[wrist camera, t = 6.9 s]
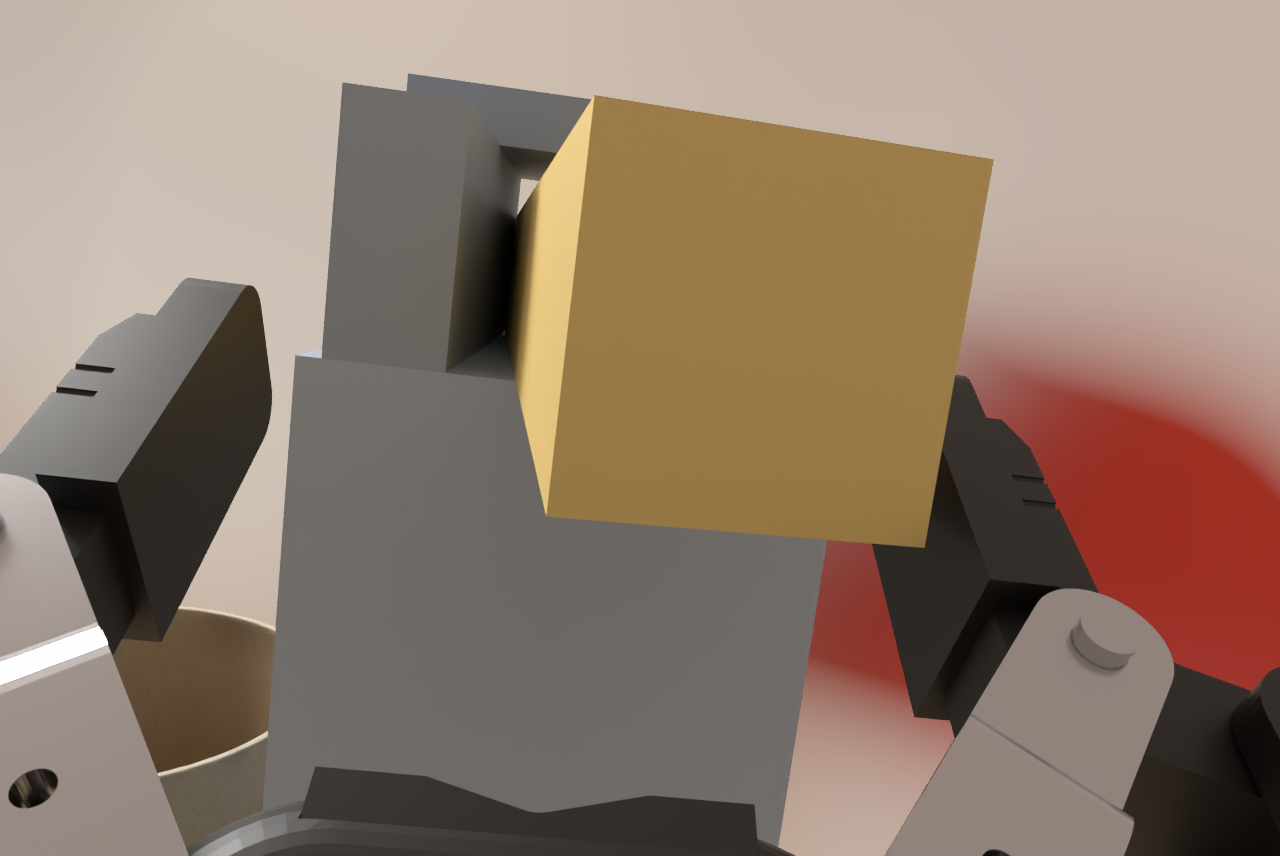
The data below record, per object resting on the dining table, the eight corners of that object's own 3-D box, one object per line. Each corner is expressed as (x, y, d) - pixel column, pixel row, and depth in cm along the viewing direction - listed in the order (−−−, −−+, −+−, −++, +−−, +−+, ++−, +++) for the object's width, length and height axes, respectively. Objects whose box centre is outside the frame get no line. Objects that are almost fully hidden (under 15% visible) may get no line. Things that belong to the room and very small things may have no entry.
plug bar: (924, 547, 10) (992, 159, 9) (546, 517, 9) (594, 95, 8) (614, 344, 33) (628, 233, 32) (504, 331, 32) (516, 217, 32)
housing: (657, 1602, 24) (899, 84, 18) (205, 1592, 23) (321, 0, 18) (631, 1116, 38) (764, 168, 32) (348, 1098, 37) (437, 123, 31)
